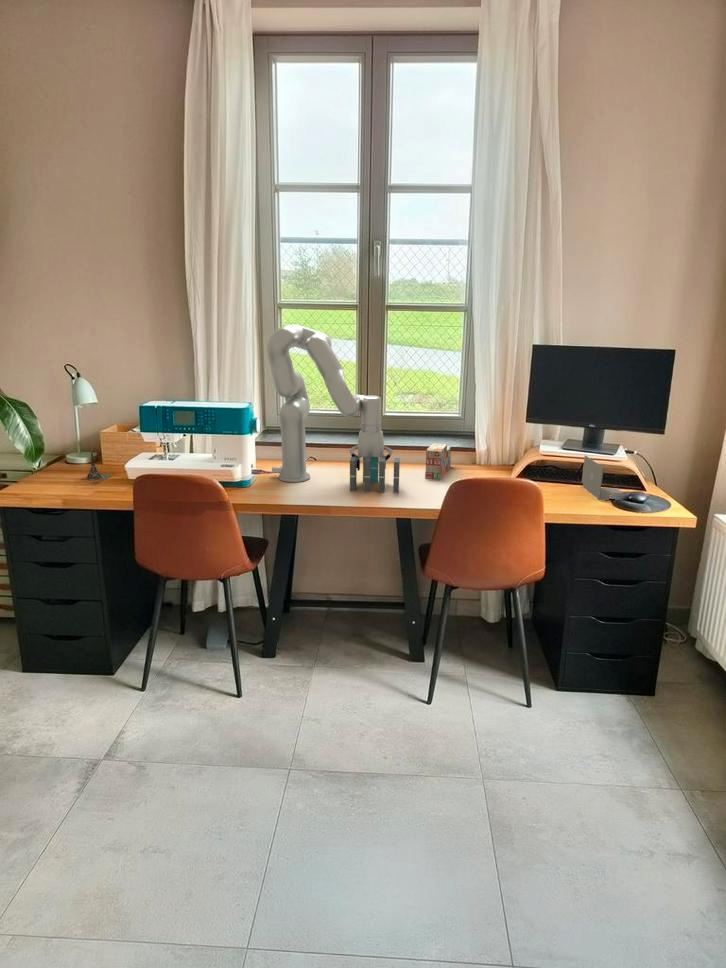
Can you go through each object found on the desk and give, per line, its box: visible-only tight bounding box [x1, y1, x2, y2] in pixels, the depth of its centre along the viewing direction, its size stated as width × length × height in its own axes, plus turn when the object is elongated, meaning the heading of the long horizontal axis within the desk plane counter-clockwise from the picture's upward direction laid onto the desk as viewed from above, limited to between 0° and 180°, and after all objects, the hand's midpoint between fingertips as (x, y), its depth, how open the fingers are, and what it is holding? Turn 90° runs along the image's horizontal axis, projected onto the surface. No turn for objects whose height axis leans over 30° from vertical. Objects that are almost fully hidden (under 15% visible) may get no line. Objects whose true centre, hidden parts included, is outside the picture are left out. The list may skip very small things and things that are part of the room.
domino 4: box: [392, 457, 401, 494], centre depth 251 cm, size 2×6×12 cm, turn 175°
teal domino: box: [362, 457, 380, 484], centre depth 261 cm, size 2×6×12 cm, turn 85°
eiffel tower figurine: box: [85, 448, 113, 485], centre depth 264 cm, size 15×10×13 cm
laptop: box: [581, 455, 623, 502], centre depth 250 cm, size 18×12×13 cm
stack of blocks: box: [424, 442, 452, 481], centre depth 275 cm, size 21×6×12 cm, turn 162°
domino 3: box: [378, 458, 386, 493], centre depth 252 cm, size 2×6×12 cm, turn 175°
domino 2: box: [363, 457, 372, 493], centre depth 252 cm, size 2×6×12 cm, turn 175°
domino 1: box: [349, 456, 358, 493], centre depth 252 cm, size 2×6×12 cm, turn 175°
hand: (370, 470), depth 262 cm, fingers open, 9 cm apart
